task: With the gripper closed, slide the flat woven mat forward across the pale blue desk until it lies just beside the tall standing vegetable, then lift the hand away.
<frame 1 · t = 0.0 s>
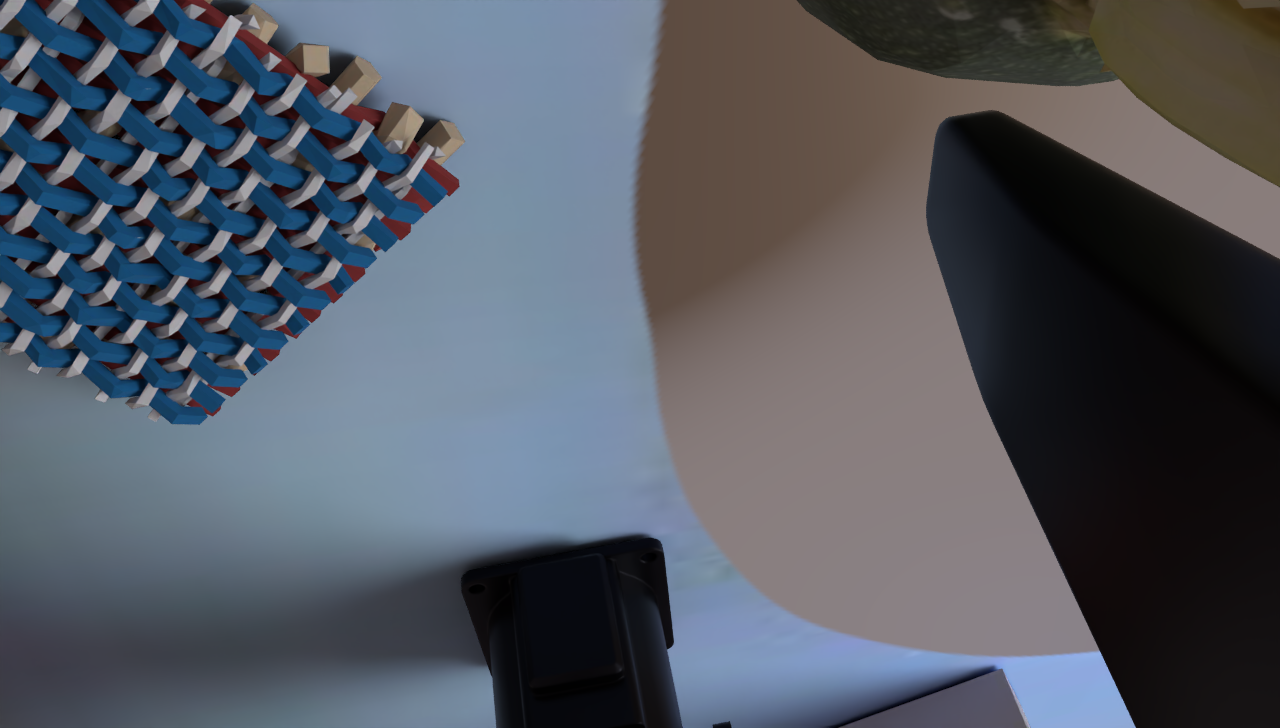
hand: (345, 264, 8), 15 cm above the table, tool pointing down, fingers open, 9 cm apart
woven mat: (125, 151, 24), on the table
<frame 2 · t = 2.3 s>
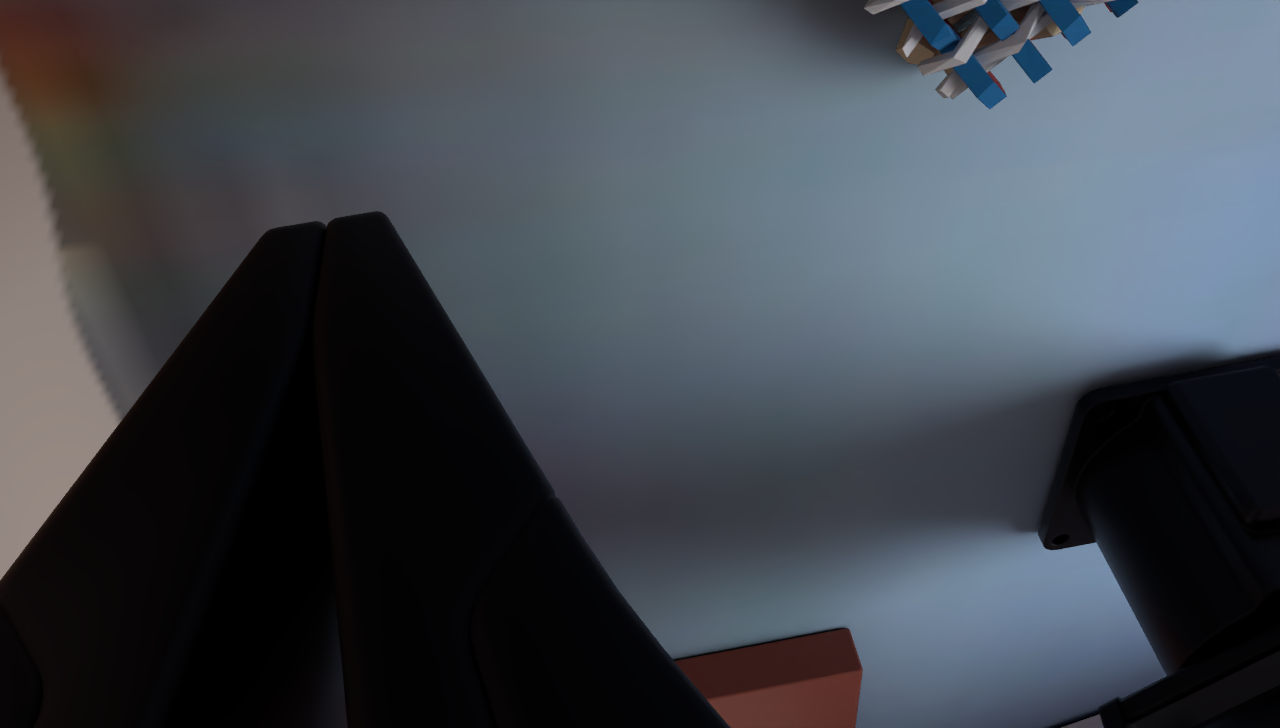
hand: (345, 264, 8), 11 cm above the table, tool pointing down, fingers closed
game console: (1171, 710, 45), on the table
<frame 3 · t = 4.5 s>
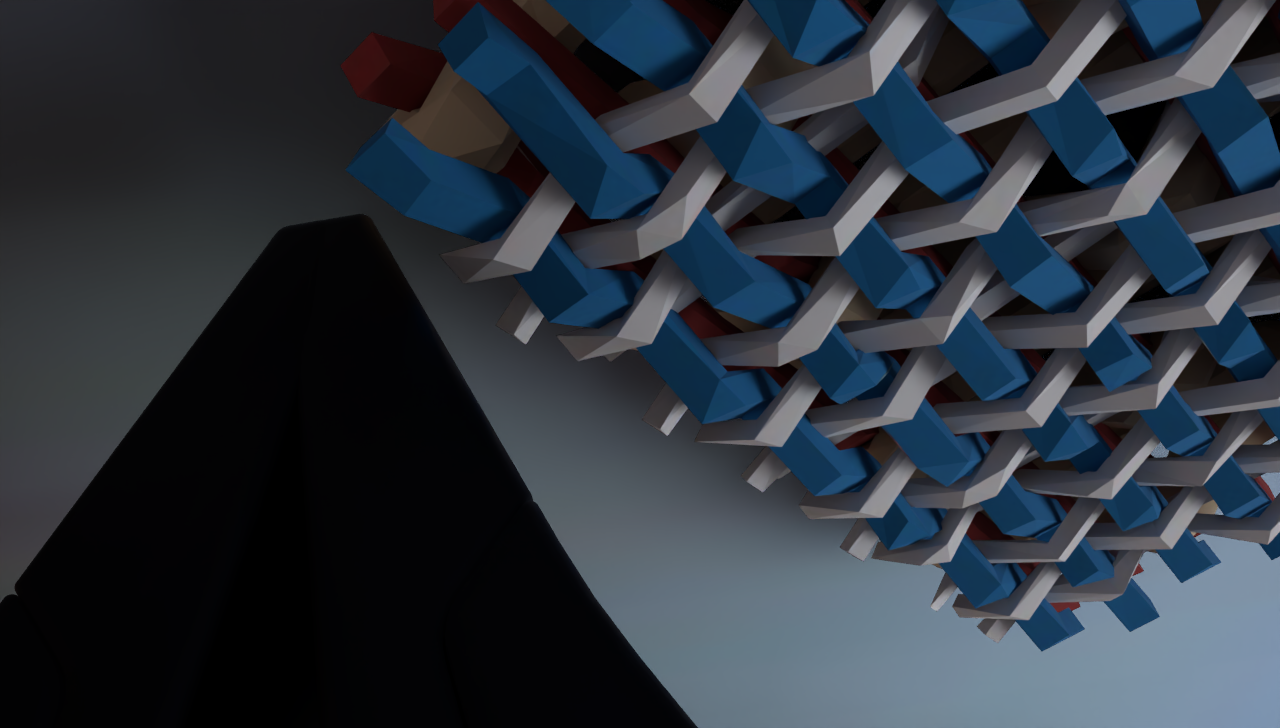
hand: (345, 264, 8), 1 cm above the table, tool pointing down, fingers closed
woven mat: (1205, 36, 10), on the table, touching gripper
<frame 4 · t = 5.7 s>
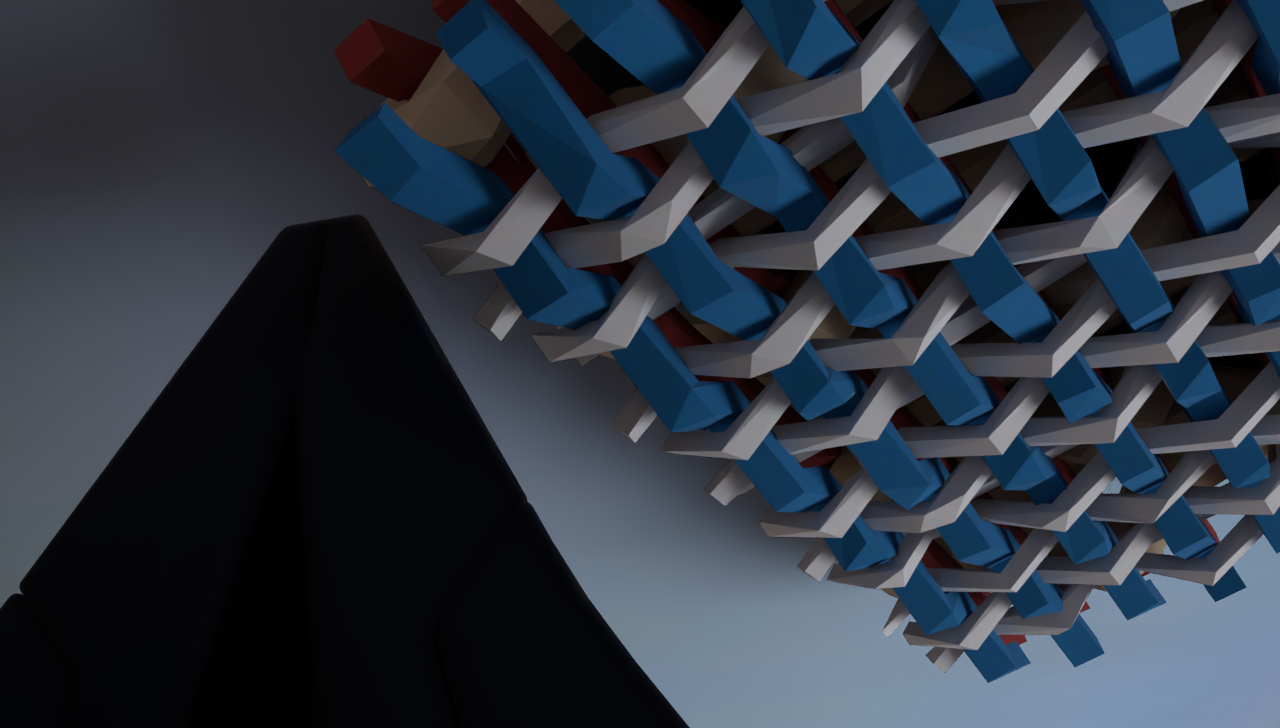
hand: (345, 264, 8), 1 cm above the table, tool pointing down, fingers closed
woven mat: (1177, 84, 10), on the table, touching gripper
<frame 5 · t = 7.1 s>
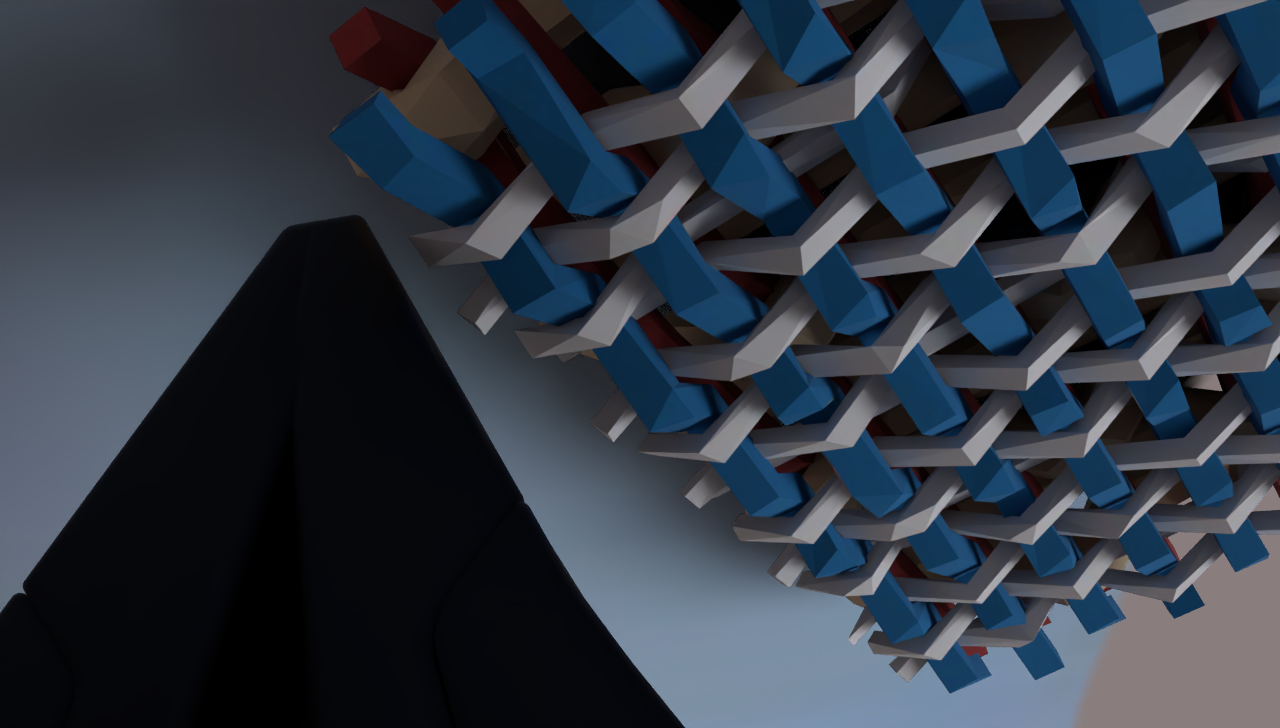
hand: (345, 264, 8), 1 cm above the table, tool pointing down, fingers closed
woven mat: (1155, 107, 10), on the table, touching gripper
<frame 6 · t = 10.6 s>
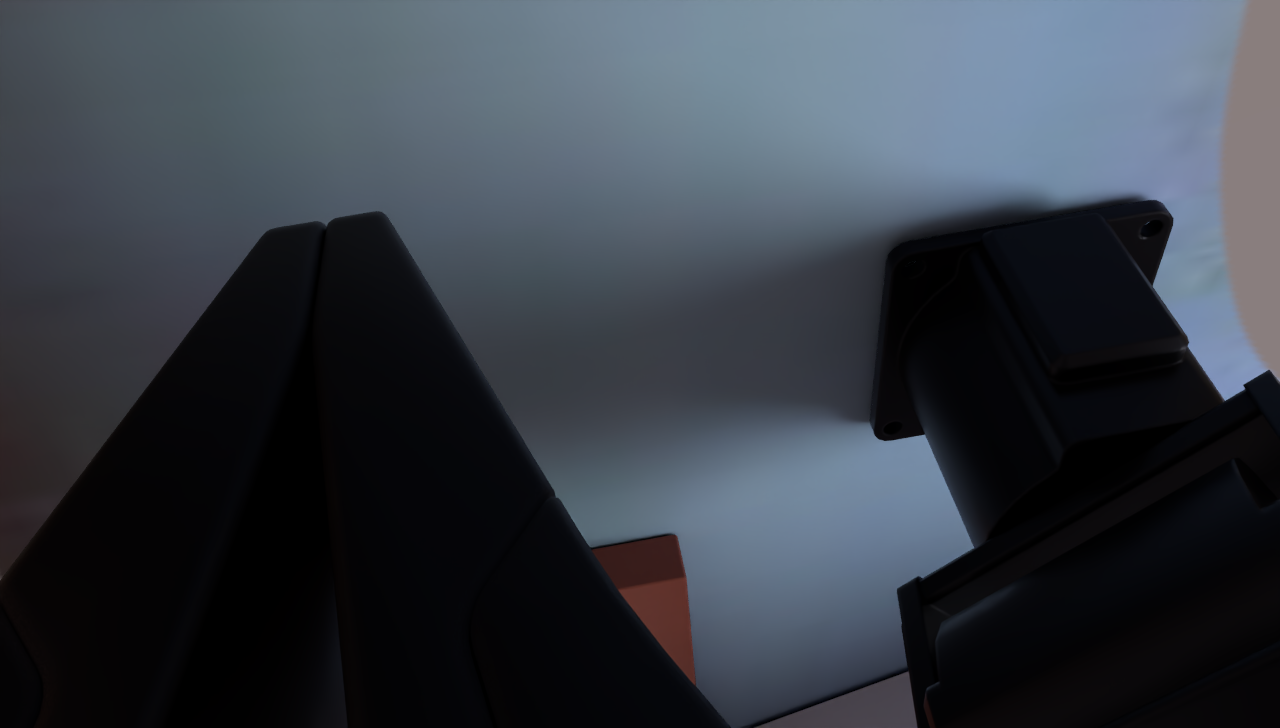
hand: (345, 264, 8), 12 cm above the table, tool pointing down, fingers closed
game console: (1060, 644, 42), on the table
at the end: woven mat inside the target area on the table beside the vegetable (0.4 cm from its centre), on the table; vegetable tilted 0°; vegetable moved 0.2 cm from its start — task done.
